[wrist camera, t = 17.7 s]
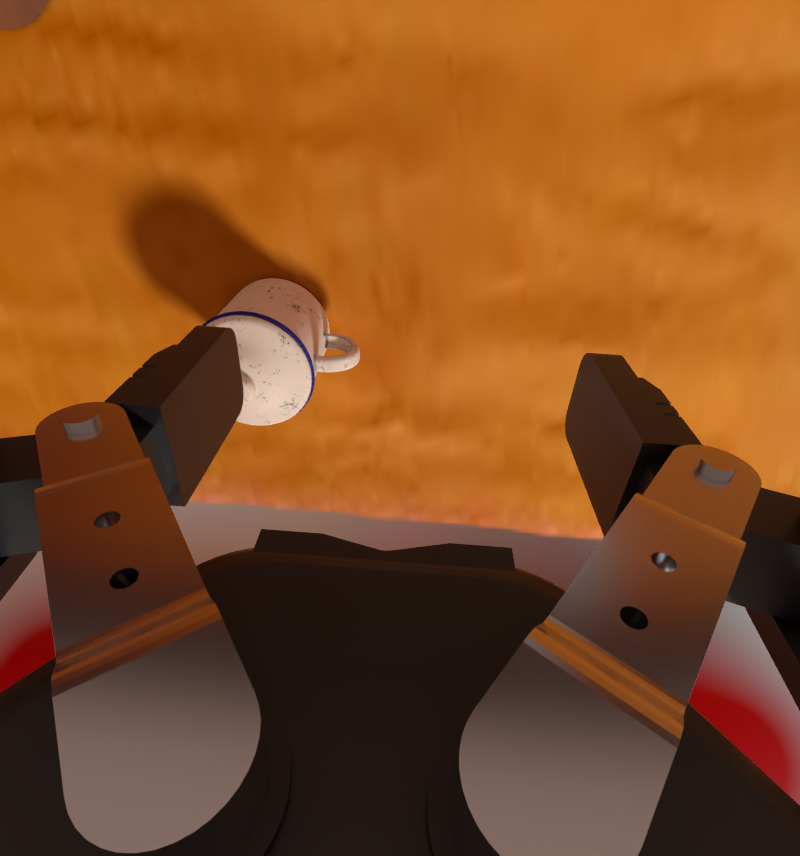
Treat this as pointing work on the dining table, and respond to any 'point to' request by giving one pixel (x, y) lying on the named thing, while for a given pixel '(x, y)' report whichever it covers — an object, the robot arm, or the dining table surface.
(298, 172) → the dining table surface
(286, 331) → the teacup with lid
